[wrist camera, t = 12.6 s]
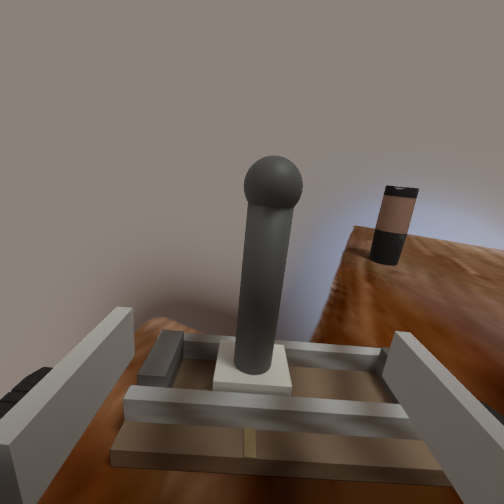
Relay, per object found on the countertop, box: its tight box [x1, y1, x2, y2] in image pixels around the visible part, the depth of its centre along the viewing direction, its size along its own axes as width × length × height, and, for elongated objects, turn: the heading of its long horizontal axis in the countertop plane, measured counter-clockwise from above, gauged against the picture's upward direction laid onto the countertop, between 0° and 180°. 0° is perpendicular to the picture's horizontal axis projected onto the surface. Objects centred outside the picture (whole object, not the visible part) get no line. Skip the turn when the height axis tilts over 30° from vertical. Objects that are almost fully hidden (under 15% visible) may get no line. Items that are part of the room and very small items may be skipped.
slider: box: [212, 156, 303, 396], centre depth 20 cm, size 6×5×19 cm
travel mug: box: [369, 186, 419, 265], centre depth 68 cm, size 8×8×20 cm
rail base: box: [110, 330, 453, 487], centre depth 22 cm, size 24×12×4 cm, turn 91°
